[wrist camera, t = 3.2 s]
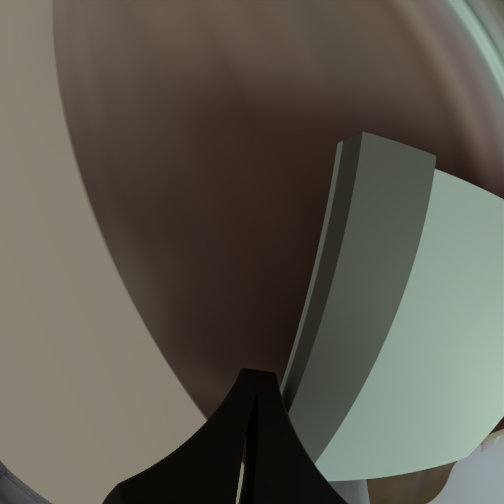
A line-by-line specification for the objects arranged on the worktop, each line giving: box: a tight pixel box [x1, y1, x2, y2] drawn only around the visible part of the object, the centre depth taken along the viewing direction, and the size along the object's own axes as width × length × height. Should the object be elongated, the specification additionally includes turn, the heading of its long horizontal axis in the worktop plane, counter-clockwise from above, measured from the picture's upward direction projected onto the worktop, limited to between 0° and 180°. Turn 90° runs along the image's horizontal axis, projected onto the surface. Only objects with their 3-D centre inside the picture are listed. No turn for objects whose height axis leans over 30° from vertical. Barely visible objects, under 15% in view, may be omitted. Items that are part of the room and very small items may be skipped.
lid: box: [280, 132, 504, 481], centre depth 9 cm, size 18×18×3 cm
